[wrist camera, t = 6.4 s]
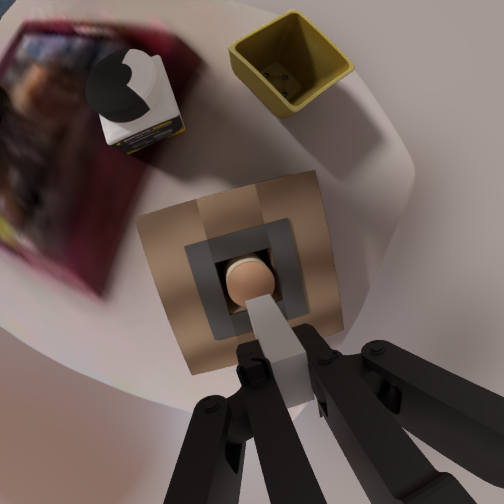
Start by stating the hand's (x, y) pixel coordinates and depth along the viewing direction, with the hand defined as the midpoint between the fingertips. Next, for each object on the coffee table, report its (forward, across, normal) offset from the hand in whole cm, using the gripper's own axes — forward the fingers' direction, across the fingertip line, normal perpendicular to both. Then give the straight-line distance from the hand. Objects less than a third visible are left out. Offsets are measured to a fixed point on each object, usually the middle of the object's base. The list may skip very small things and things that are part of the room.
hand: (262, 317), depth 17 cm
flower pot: (+17, +9, +18) cm, 27 cm away
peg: (+16, 0, -1) cm, 16 cm away
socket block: (+16, 0, -1) cm, 16 cm away
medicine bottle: (+17, -6, +18) cm, 26 cm away
